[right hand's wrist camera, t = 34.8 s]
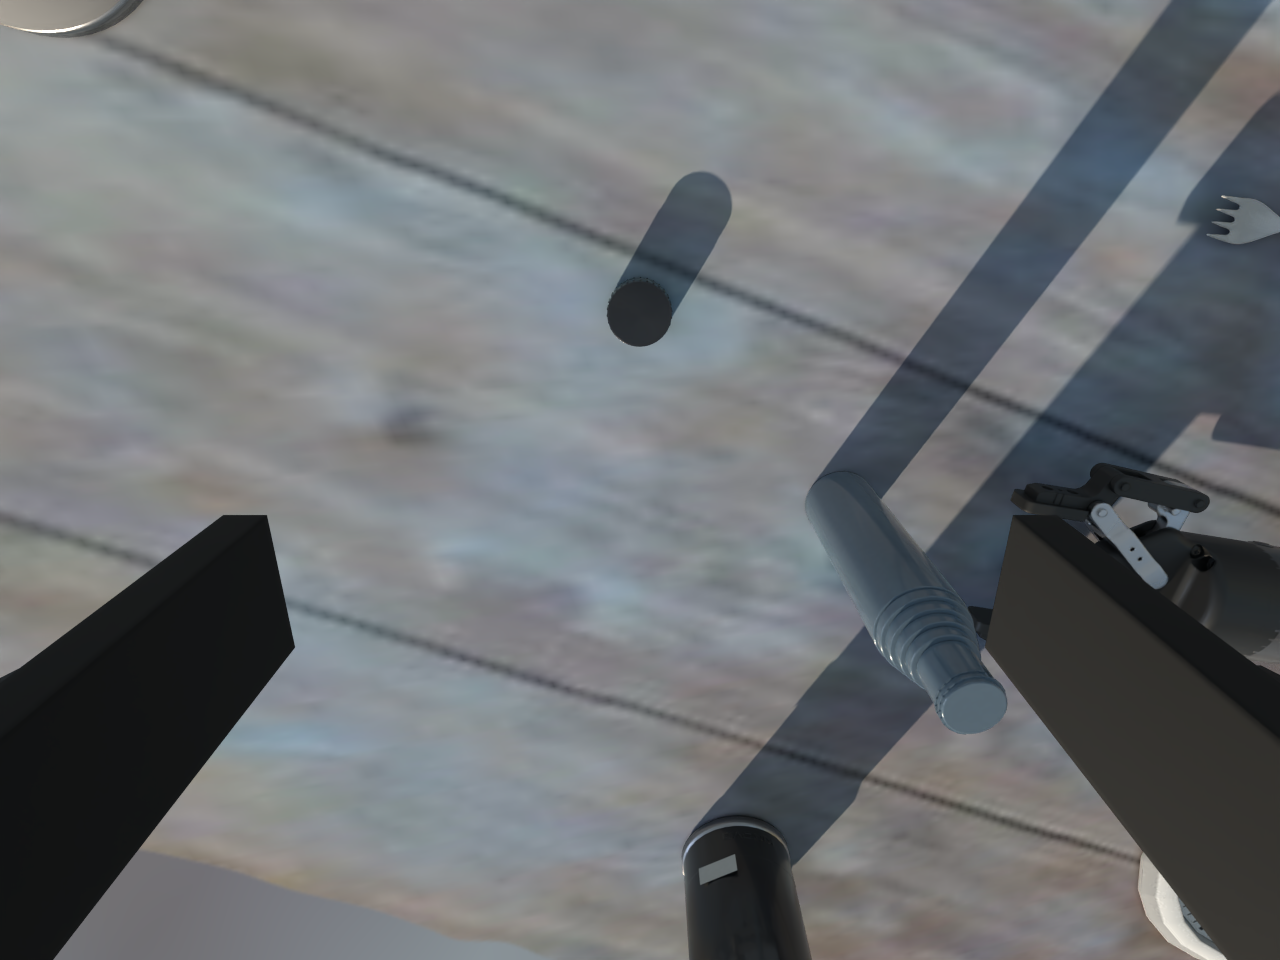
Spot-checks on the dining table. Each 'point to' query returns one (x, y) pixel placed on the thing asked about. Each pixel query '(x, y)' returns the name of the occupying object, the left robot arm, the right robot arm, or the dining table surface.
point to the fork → (1248, 221)
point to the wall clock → (1173, 915)
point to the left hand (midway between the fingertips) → (993, 561)
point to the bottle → (905, 602)
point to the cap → (639, 312)
